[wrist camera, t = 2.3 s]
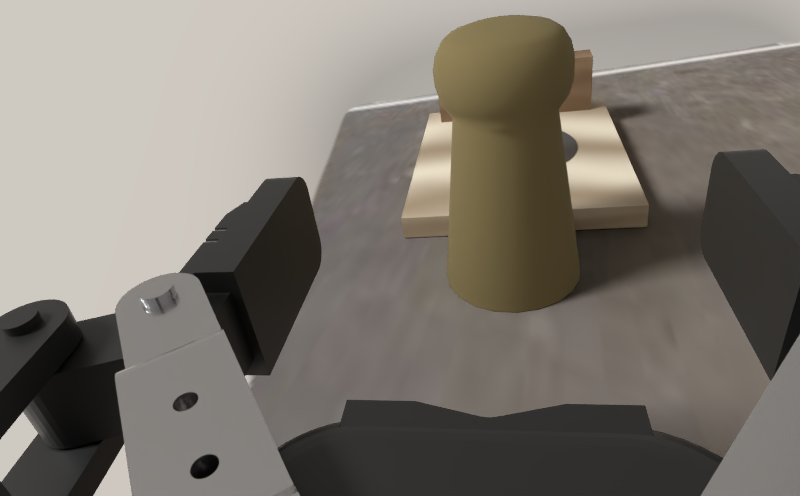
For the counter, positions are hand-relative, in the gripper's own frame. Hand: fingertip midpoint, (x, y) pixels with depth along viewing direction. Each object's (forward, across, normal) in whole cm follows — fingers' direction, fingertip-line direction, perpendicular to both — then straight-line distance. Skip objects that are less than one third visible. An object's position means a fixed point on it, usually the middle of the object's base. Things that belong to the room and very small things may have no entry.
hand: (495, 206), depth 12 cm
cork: (+12, 0, +10) cm, 15 cm away
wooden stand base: (+22, -1, +10) cm, 24 cm away
